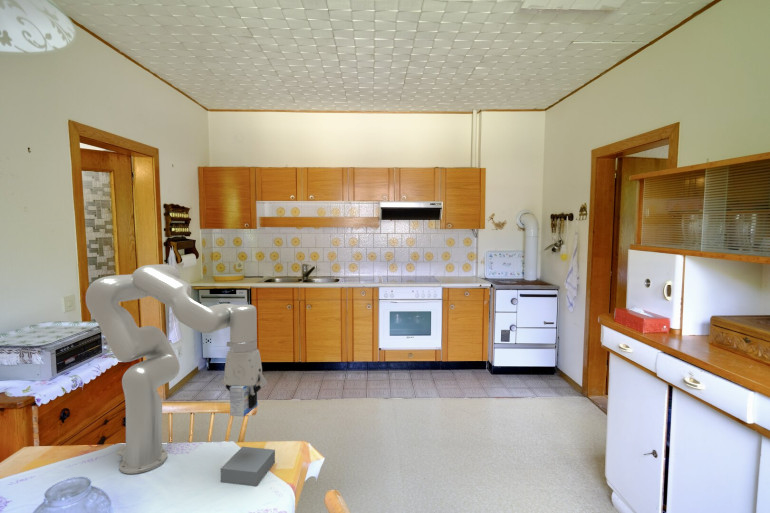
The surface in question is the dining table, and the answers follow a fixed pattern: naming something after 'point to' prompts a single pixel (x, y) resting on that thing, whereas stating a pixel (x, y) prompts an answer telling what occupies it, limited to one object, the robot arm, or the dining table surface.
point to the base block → (248, 466)
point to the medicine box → (240, 401)
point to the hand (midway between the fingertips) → (244, 405)
